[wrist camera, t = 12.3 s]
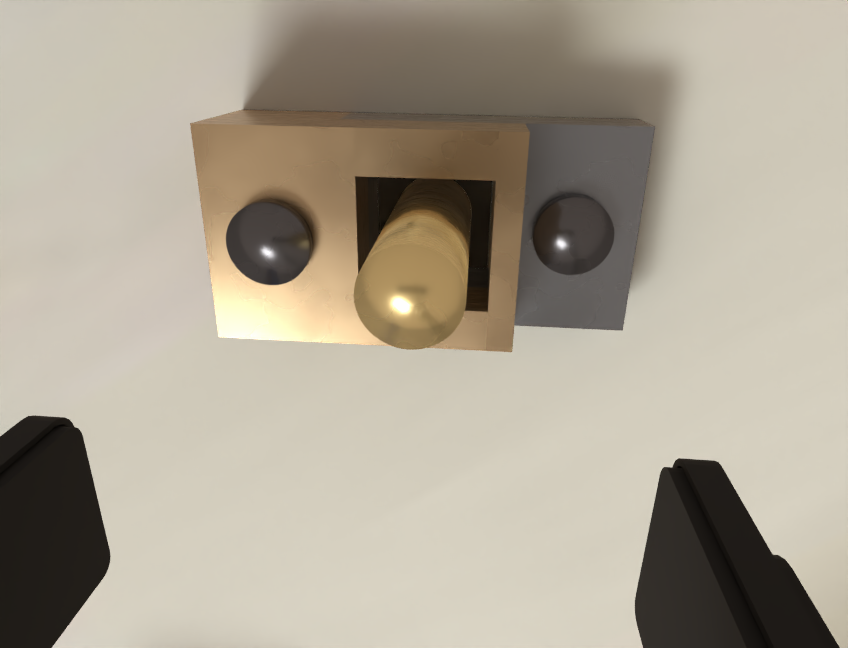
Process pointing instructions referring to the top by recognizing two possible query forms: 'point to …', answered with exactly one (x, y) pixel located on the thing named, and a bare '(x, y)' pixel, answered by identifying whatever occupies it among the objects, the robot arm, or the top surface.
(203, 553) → the top surface
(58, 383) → the top surface
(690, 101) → the top surface
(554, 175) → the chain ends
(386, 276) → the pin
